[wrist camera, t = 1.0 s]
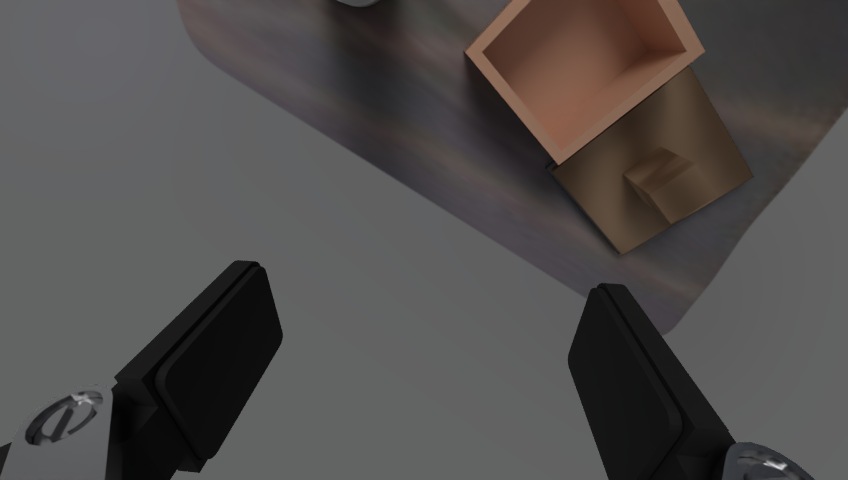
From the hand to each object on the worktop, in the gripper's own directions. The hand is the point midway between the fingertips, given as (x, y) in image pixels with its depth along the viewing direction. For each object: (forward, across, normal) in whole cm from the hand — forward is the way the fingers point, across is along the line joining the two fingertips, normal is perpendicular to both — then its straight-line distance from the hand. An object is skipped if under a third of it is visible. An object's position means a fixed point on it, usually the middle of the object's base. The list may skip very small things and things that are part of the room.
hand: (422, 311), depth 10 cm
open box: (+25, -9, -7) cm, 27 cm away
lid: (+24, -19, +3) cm, 31 cm away
